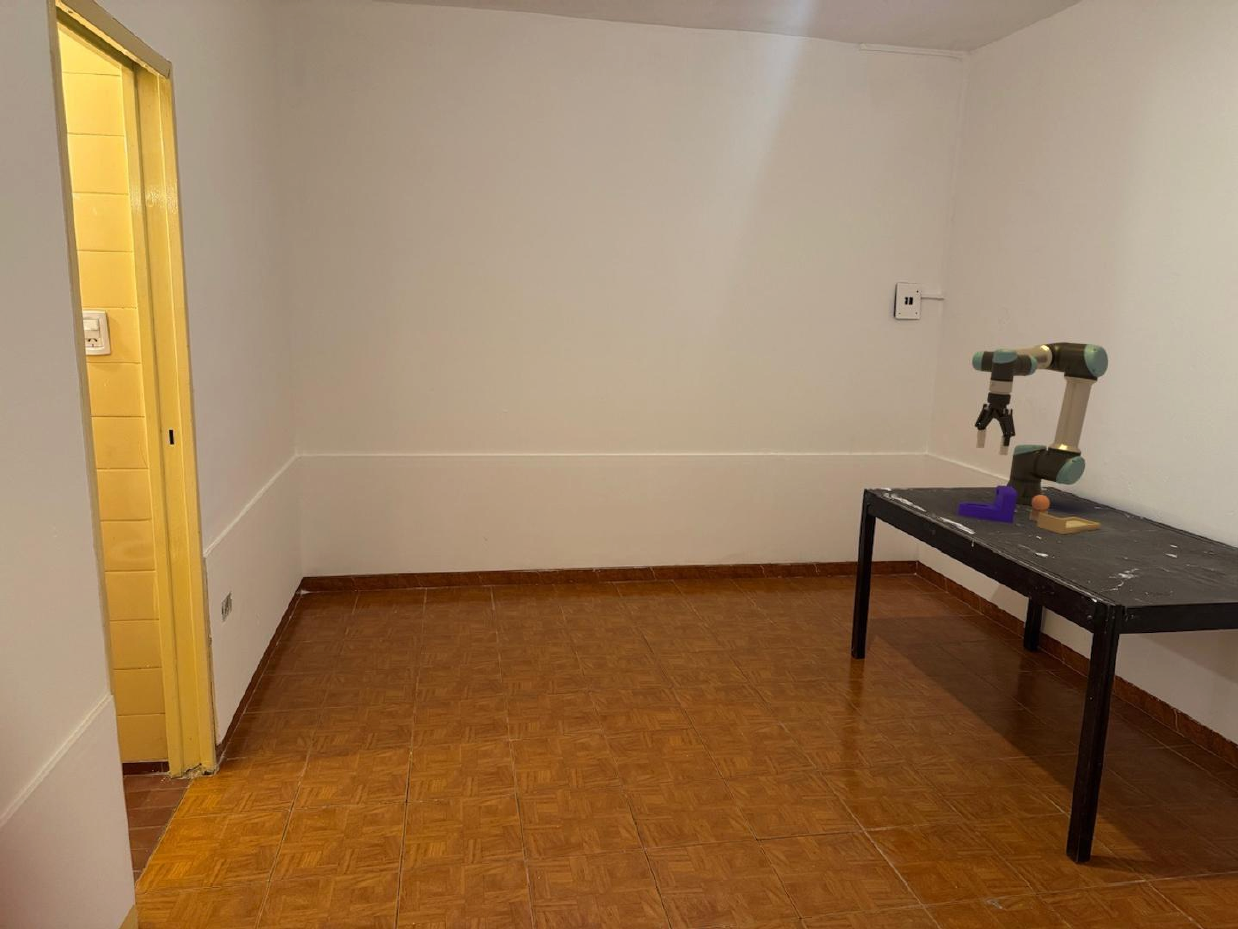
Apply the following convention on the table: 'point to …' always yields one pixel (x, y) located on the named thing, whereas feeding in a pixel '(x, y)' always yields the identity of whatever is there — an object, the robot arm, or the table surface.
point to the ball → (1040, 503)
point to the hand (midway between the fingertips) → (991, 451)
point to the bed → (1065, 524)
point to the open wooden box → (1036, 514)
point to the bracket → (993, 506)
